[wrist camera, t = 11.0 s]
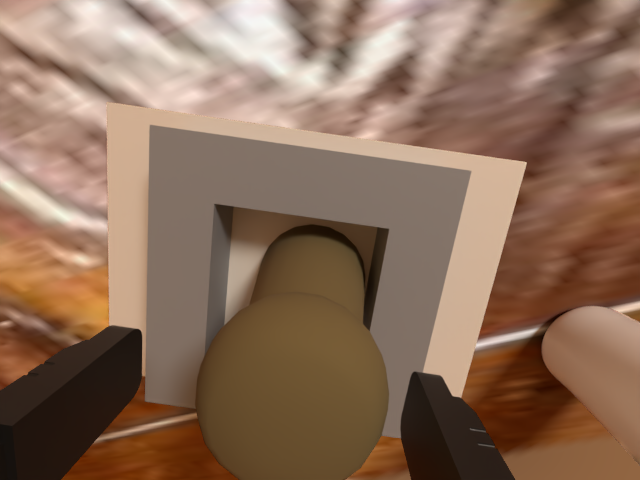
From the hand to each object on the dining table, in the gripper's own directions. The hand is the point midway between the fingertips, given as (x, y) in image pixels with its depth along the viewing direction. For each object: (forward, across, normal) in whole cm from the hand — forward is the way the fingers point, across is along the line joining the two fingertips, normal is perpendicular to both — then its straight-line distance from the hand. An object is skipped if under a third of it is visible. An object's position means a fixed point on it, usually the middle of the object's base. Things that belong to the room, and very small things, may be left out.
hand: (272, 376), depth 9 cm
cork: (+9, -1, 0) cm, 9 cm away
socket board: (+10, 0, 0) cm, 10 cm away
